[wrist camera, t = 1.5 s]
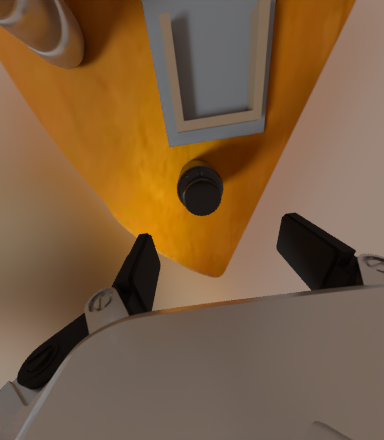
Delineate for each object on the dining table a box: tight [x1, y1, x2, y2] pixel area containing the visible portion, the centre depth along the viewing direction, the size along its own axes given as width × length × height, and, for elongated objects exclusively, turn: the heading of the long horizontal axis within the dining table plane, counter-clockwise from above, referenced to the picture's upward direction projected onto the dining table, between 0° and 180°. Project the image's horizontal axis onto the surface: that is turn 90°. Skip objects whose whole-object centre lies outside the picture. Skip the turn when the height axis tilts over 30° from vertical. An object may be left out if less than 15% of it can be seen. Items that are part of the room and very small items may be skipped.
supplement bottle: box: [177, 160, 223, 216], centre depth 23 cm, size 7×7×12 cm
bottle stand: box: [142, 0, 276, 147], centre depth 20 cm, size 16×16×4 cm
